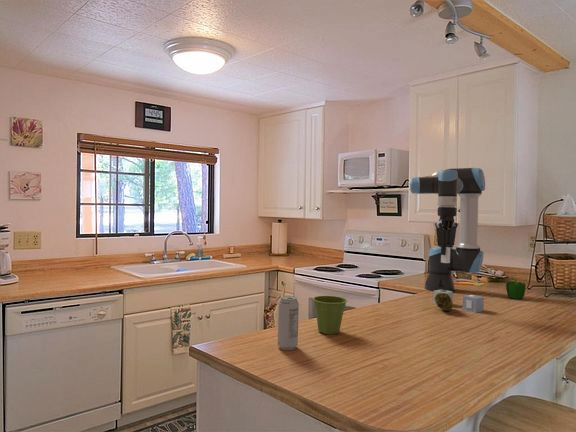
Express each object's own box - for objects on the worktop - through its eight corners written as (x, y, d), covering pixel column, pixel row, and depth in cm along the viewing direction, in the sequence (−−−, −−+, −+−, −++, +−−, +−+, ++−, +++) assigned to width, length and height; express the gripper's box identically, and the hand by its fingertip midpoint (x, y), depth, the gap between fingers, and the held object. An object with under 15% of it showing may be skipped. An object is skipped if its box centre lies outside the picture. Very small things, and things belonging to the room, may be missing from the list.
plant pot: (318, 337, 141) (319, 303, 140) (307, 328, 152) (308, 296, 152) (352, 335, 144) (353, 302, 144) (338, 326, 155) (339, 294, 155)
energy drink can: (286, 343, 134) (287, 294, 134) (301, 347, 130) (302, 297, 130) (273, 347, 130) (274, 297, 129) (288, 352, 126) (290, 300, 126)
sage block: (432, 303, 197) (433, 290, 197) (440, 302, 201) (441, 288, 201) (444, 306, 192) (444, 292, 192) (452, 304, 196) (452, 291, 196)
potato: (459, 310, 186) (460, 291, 185) (447, 315, 176) (448, 295, 176) (440, 306, 191) (441, 288, 191) (427, 311, 182) (428, 292, 182)
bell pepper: (528, 300, 209) (529, 279, 209) (511, 300, 210) (511, 279, 209) (519, 297, 218) (520, 277, 218) (503, 296, 218) (503, 276, 218)
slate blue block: (462, 309, 186) (462, 295, 186) (470, 308, 190) (470, 293, 190) (475, 312, 182) (475, 297, 181) (483, 311, 185) (483, 296, 185)
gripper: (445, 206, 176) (443, 264, 176) (464, 207, 184) (462, 262, 184) (429, 206, 182) (427, 262, 182) (448, 207, 190) (447, 260, 190)
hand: (445, 262), depth 183 cm, fingers closed
